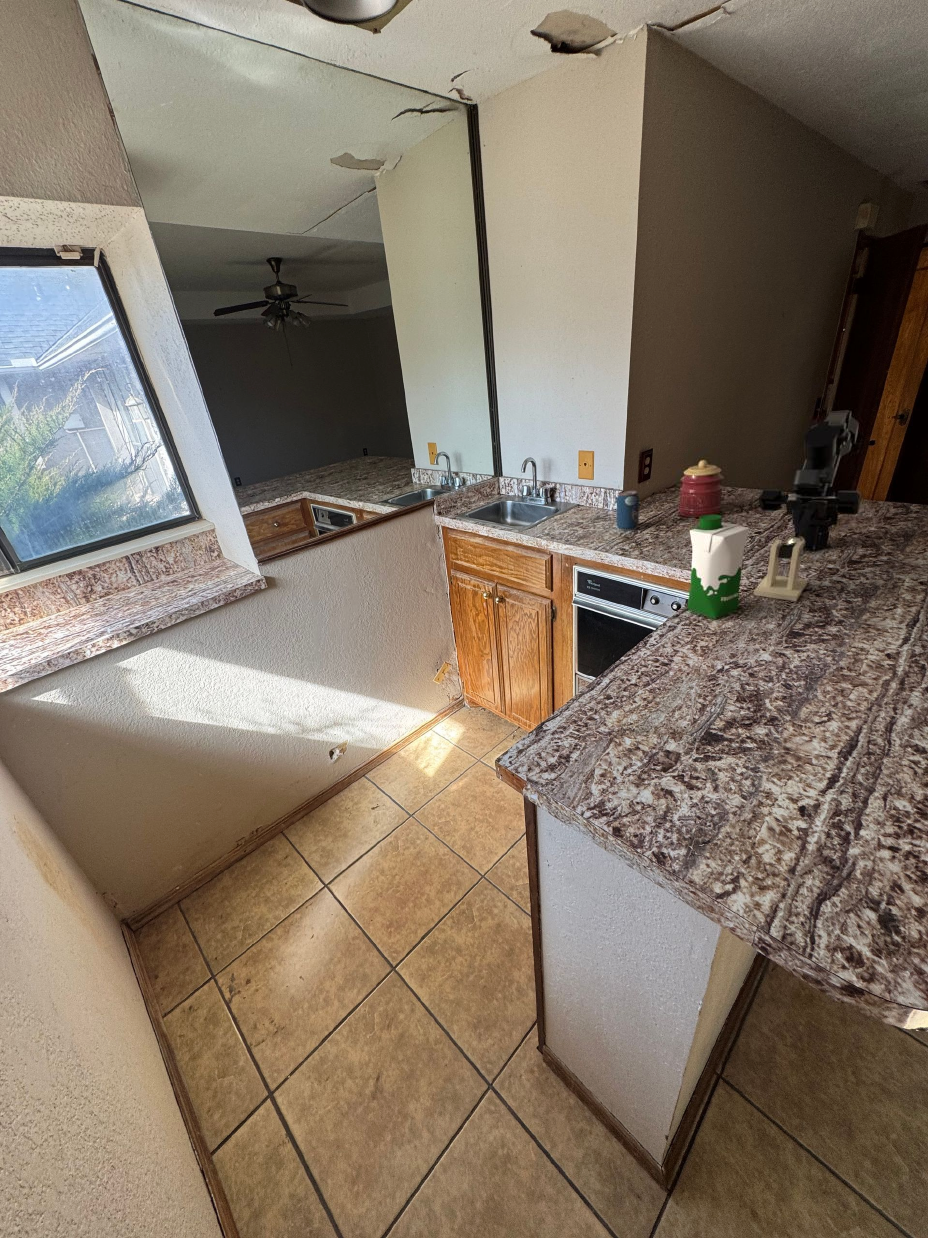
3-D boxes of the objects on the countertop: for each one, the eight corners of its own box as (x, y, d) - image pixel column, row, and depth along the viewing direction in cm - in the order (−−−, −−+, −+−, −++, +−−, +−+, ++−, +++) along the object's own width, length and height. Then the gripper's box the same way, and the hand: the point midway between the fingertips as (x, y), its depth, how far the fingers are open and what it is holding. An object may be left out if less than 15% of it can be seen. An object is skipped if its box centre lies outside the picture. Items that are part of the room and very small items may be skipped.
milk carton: (708, 597, 108) (715, 510, 100) (745, 609, 101) (757, 516, 92) (680, 609, 105) (685, 520, 97) (717, 622, 98) (726, 528, 89)
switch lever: (786, 548, 112) (789, 533, 110) (805, 550, 109) (808, 534, 108) (773, 560, 104) (776, 543, 102) (793, 562, 101) (796, 545, 100)
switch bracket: (766, 579, 112) (772, 534, 108) (806, 584, 107) (815, 538, 102) (753, 595, 106) (759, 549, 101) (796, 601, 101) (804, 553, 96)
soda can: (638, 530, 158) (638, 494, 153) (616, 531, 160) (616, 495, 155) (638, 524, 163) (639, 489, 158) (617, 525, 166) (617, 490, 161)
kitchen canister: (727, 514, 159) (733, 460, 152) (687, 520, 160) (691, 465, 152) (710, 505, 171) (714, 454, 163) (673, 510, 172) (675, 460, 164)
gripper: (765, 454, 110) (746, 514, 108) (869, 451, 98) (849, 519, 96) (770, 480, 118) (752, 537, 116) (867, 481, 106) (848, 544, 104)
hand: (796, 534), depth 108 cm, fingers closed
